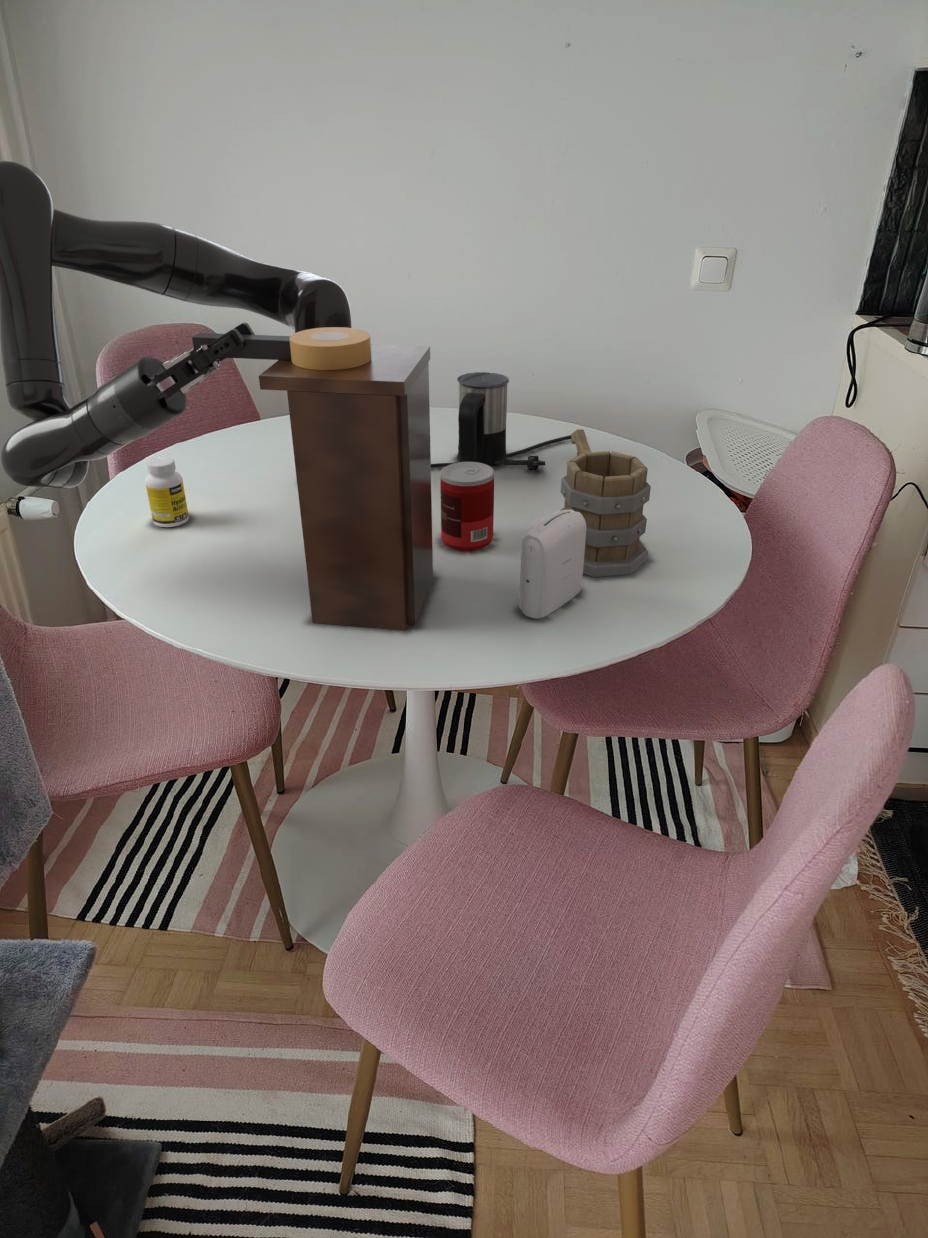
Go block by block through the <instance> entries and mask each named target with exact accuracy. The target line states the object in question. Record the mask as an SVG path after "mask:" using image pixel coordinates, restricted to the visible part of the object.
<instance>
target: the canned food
mask: <svg viewBox="0 0 928 1238" xmlns="http://www.w3.org/2000/svg"><path fill="white" fill-rule="evenodd" d="M457 462H458V461H457ZM453 463H454V464H450V465H448V466H446V467H442V469H441V470H440V474H439V475H440V477H439V483H440V484H439V485H440V487H439V489H440V491H439V493H440V533H441V534H440V536H441V537H440V538H441V541H442V543H443V545H444V546H445V547H447V548H448V549H450V550H453V551H457V552H465V553H466V552H476V551H480V550H483V549H485V548H487V547H488V546H490V544H491V543H492V540H493V538H494V524H495V523H494V519H495V517H494V516H495V515H494V513H495V470H494V467H490V466H488V465H486V464H483V463H478V462H458V463H455V462H453Z"/></svg>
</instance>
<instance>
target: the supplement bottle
mask: <svg viewBox="0 0 928 1238" xmlns="http://www.w3.org/2000/svg"><path fill="white" fill-rule="evenodd" d="M146 467H147V472H148V474H147V476H146V477H145V481H144V483H145V488H146V494H147V498H148V504H149V509H150V514H151V519H152V523H153V524H154V525H155V526H157V527H162V528H173V527H179V526H182V525H183V524H185V523H187V522H188V520H189V518H190V517H189V510H188V504H187V498H186V491H185V486H184V485H185V484H184V480H183V476H182V474H181V473H179V472H178V471H176V470H177V468H176V467H177V466H176V462H175V458H172V457H169V456H159V457H153V458H151V459H149V460H147V462H146Z"/></svg>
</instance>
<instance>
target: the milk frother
mask: <svg viewBox="0 0 928 1238" xmlns="http://www.w3.org/2000/svg"><path fill="white" fill-rule="evenodd" d="M456 381H457V383H458V414H457V415H458V416H457V417H458V422H457V423H458V443H457V444H458V445H457V455H456V461H457V462H478V463H483V464H486V465H488V466H490V467H492V468H495V467H499V466H503V465H504V466H526V467H527V470H528V471H539V467H544V466H546V463H547V462H546V461H544V460H541V459H540V458H539V455H528V456H527V459H508V458H507V457H506V454H507V412H508V384H509V382H510V378H509V376H506V375H504V374H500V373H497V372H486V371H484V372H483V371H477V372H468V373H465V374H461V375H459V376H458V377H457V378H456Z"/></svg>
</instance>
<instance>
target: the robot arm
mask: <svg viewBox="0 0 928 1238" xmlns="http://www.w3.org/2000/svg"><path fill="white" fill-rule="evenodd" d="M53 267H57V268H63V269H68V270H71V271H72V270H73V271H76V272H77V271H78V272H81V273H86V274H89V275H92V276H96V277H99V278H103V279H105V280H109V281H112V282H115V283H118V284H122V285H125V286H126V285H127V286H129V287H134V288H136V289H139V290H144V291H146V292H150V293H153V294H156V295H160V296H163V297H166V298H169V299H174V300H178V301H181V302H185V303H188V304H195V305H200V306H207V307H218V308H231V309H239V310H245V311H248V312H252V313H255V314H257V315H261V316H263V317H265V318H269V319H270V320H273V321H276V322H278V323H280V324H282V325H285V326H287V327H289V328H290V329H292V330H293V331H294V333H297V332H300V331H303V330H308V329H314V328H325V327H345V328H353V324H352V323H353V322H352V310H351V304H350V300H349V298H348V295H347V293H346V292H345V290H344V289H343V287H342V286H341V285H340V284H338V283H337V282H336V281H334V280H332V279H329V278H328V277H325V276H323V275H320V274H318V273H315V272H311V271H306V270H305V271H304V270H298V269H293V268H287V267H282V266H278V265H273V264H269V263H264V262H261V261H258V260H255V259H252V258H249V257H247V256H244V255H242V254H241V253H238V252H237V251H235V250H232V249H231V248H229V247H227V246H224V245H222V244H221V243H218V242H215V241H213V240H210V239H208V238H205V237H202V236H200V235H197V234H194V233H191V232H188V231H185V230H183V229H180V228H176V227H173V226H170V225H166V224H161V223H158V222H157V223H156V222H152V221H151V222H149V221H139V220H138V221H134V220H101V219H100V220H99V219H91V218H87V217H82V216H78V215H75V214H71V213H69V212H65V211H63V210H60V209H56V208H55V203H54V199H53V196H52V194H51V191H50V190H49V188H48V186H47V184H46V183H45V182H44V181H43V179H42V178H41V176H40V175H38V174H37V173H36V171H34V170H32V169H30V167H28V166H26V165H24V164H22V163H20V162H16V161H11V160H0V358H1V366H2V367H1V368H2V374H3V381H4V387H5V394H6V399H7V403H8V405H9V407H10V408H11V410H12V411H14V412H16V413H18V414H20V415H22V416H24V417H26V418H27V419H29V420H30V421H32V422H29V423H27V424H25V425H22V426H21V427H19V428H18V429H16V430H15V431H13V432H12V433H10V435H9V436H8V437H7V438H6V439H5V441H4V442H3V444H2V446H1V449H0V468H1V469H2V471H3V473H4V474H5V476H6V477H7V478H8V479H9V480H11V482H14V483H15V484H17V485H20V486H23V487H31V488H48V489H72V488H75V487H77V486H79V485H80V484H82V482H83V481H84V480H85V478H86V476H87V474H88V471H89V467H90V461H97V460H102V459H104V458H107V457H108V456H110V455H112V454H114V453H116V452H117V451H119V450H120V449H122V448H123V447H125V446H127V445H129V444H130V443H132V442H135V441H137V440H140V439H142V438H144V437H146V436H148V435H149V434H150V433H152V432H154V431H155V430H157V429H159V428H161V427H163V426H164V425H166V424H167V423H169V422H170V421H172V420H174V419H176V418H177V417H179V416H180V415H182V414H183V413H184V412H185V411H186V408H187V403H188V401H187V400H188V399H187V393H188V392H189V391H191V390H192V389H193V388H195V387H196V386H199V384H201V383H202V382H203V381H204V379H206V378H208V376H210V375H211V374H213V373H214V372H216V371H218V370H219V369H220V368H221V363H222V362H223V361H225V360H227V359H228V358H227V357H229V356H230V355H232V354H233V353H235V352H237V351H238V350H240V349H241V348H243V347H244V346H245V341H244V339H243V338H242V336H241V335H240V334H244V335H256V334H255V332H254V331H253V329H252V328H251V326H250V325H249V323H248V322H246V321H244V322H241V323H240V324H238V325H236V326H235V327H233V328H232V329H230V330H229V331H227V332H226V333H223V334H224V335H222V336H221V337H219V338H218V339H216V340H215V341H213V342H211V343H210V344H209V345H208V344H207V345H202V346H201V348H200V349H199V350H197V351H194V348H193V347H192V348H191V349H189V350H187V351H182V352H181V353H179V354H177V355H176V356H174V357H172V358H170V359H169V360H167V361H165V362H164V361H162V360H160V359H158V358H156V357H153V356H144V357H142V358H140V359H138V360H137V361H135V362H134V363H132V364H130V365H129V366H127V367H126V368H124V369H123V370H122V371H120V372H119V373H117V374H116V375H114V376H112V377H111V378H109V379H108V380H107V381H105V382H104V383H102V384H101V385H100V386H99V387H97V389H96V390H95V391H93V392H92V393H91V394H89V395H87V396H86V397H85V398H84V399H82V400H80V401H79V402H77V403H76V404H74V405H73V406H72V405H71V403H70V400H69V398H68V392H67V391H68V390H67V383H66V376H65V370H64V362H63V355H62V347H61V342H60V341H61V340H60V336H59V335H60V334H59V327H58V321H57V320H58V319H57V312H56V304H55V295H54V280H53V279H54V278H53ZM209 346H210V347H211V348H210V347H209ZM199 354H200V355H199ZM568 440H572V439H571V434H570V435H565V436H560V437H556V438H552V439H549V440H546V441H542V442H540V443H537V444H534V445H532V446H528V447H526V448H522V449H519V450H515V451H513V452H509V453H506V457H507V459H508V458H512V457H515V456H516V457H517V456H519V455H523V454H526V453H528V452H531V451H534V450H536V449H539V448H542V447H545V446H548V445H552V444H556V443H559V442H564V441H568ZM454 463H458V461H456V462H438V463H437V462H436V463H431V469H435V468H444V467H446V466H448V465H450V464H454Z"/></svg>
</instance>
